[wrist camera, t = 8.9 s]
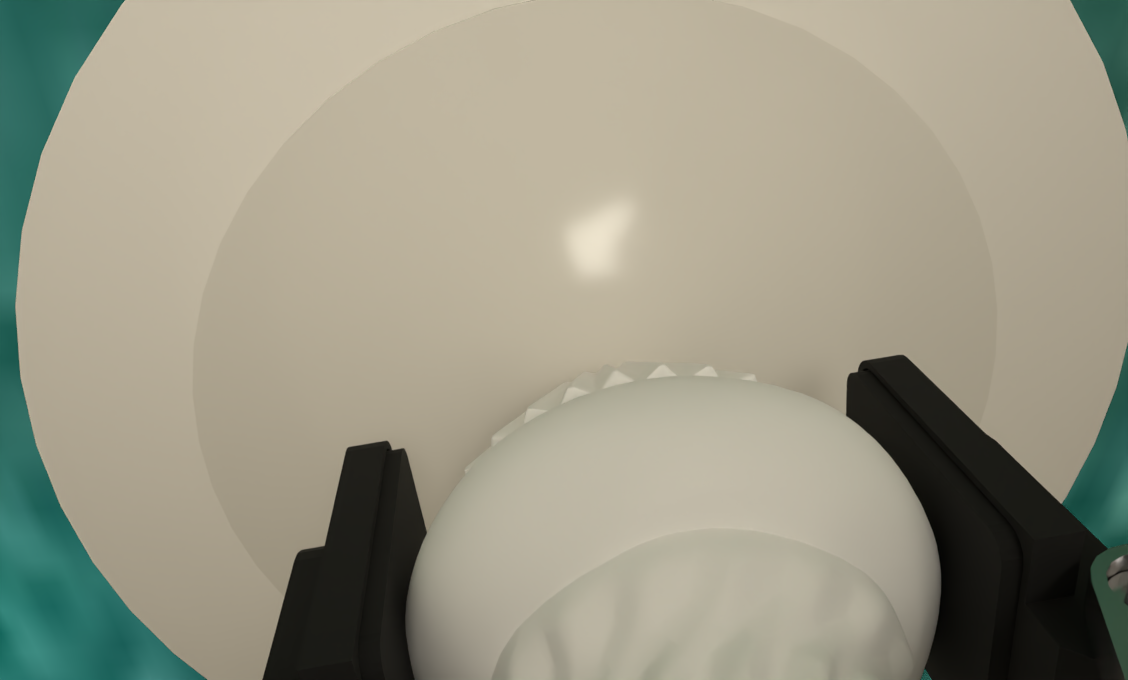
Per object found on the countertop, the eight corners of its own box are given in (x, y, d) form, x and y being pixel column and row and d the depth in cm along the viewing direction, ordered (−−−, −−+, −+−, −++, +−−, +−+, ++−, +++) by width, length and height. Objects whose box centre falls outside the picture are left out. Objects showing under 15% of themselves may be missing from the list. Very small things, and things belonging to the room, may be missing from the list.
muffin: (687, 651, 15) (846, 1177, 9) (355, 537, 13) (251, 1092, 7) (902, 366, 13) (1318, 785, 7) (541, 186, 11) (635, 523, 5)
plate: (1189, -309, 11) (1265, -335, 10) (1036, 663, 19) (1069, 706, 18) (-185, -118, 11) (-257, -124, 10) (240, 808, 19) (226, 862, 18)
